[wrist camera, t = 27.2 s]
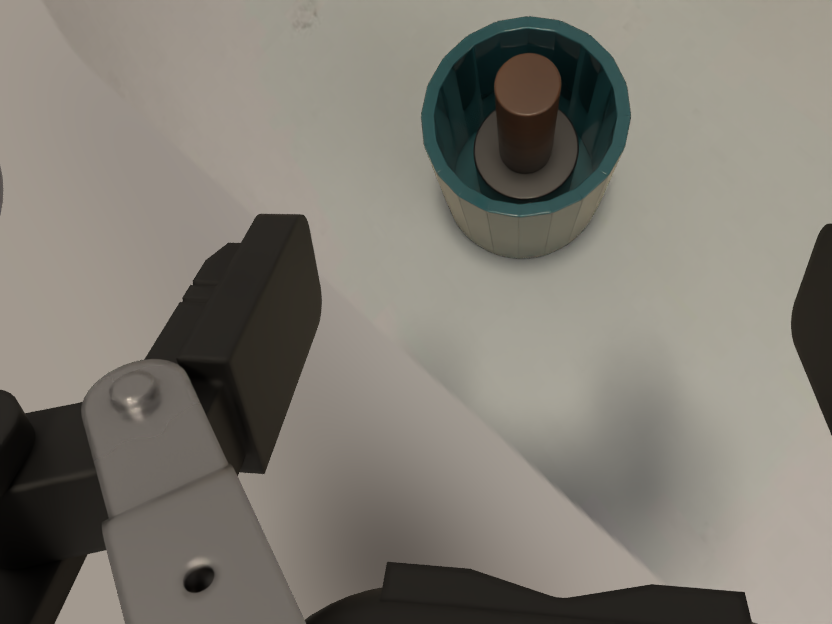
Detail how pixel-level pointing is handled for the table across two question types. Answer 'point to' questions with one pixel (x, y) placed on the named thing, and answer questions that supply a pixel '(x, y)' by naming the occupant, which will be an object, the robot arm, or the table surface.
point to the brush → (526, 135)
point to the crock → (475, 99)
